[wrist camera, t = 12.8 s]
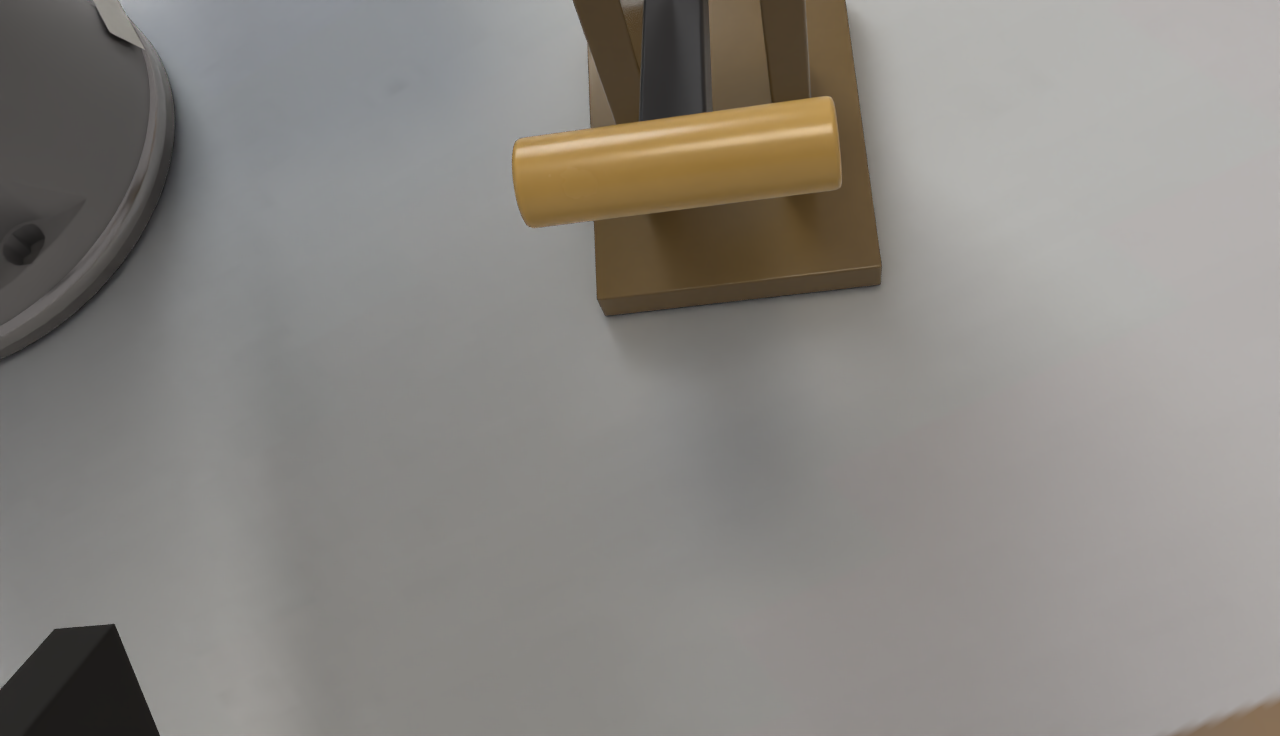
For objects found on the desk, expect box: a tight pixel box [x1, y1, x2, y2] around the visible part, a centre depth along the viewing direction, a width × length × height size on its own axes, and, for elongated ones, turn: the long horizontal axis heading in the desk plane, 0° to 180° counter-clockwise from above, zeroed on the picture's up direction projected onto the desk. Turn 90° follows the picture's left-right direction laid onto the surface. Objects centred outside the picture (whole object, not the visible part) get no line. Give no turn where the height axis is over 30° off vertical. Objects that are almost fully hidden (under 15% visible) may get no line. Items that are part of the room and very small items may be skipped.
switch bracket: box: [573, 0, 882, 316], centre depth 29 cm, size 10×8×13 cm
